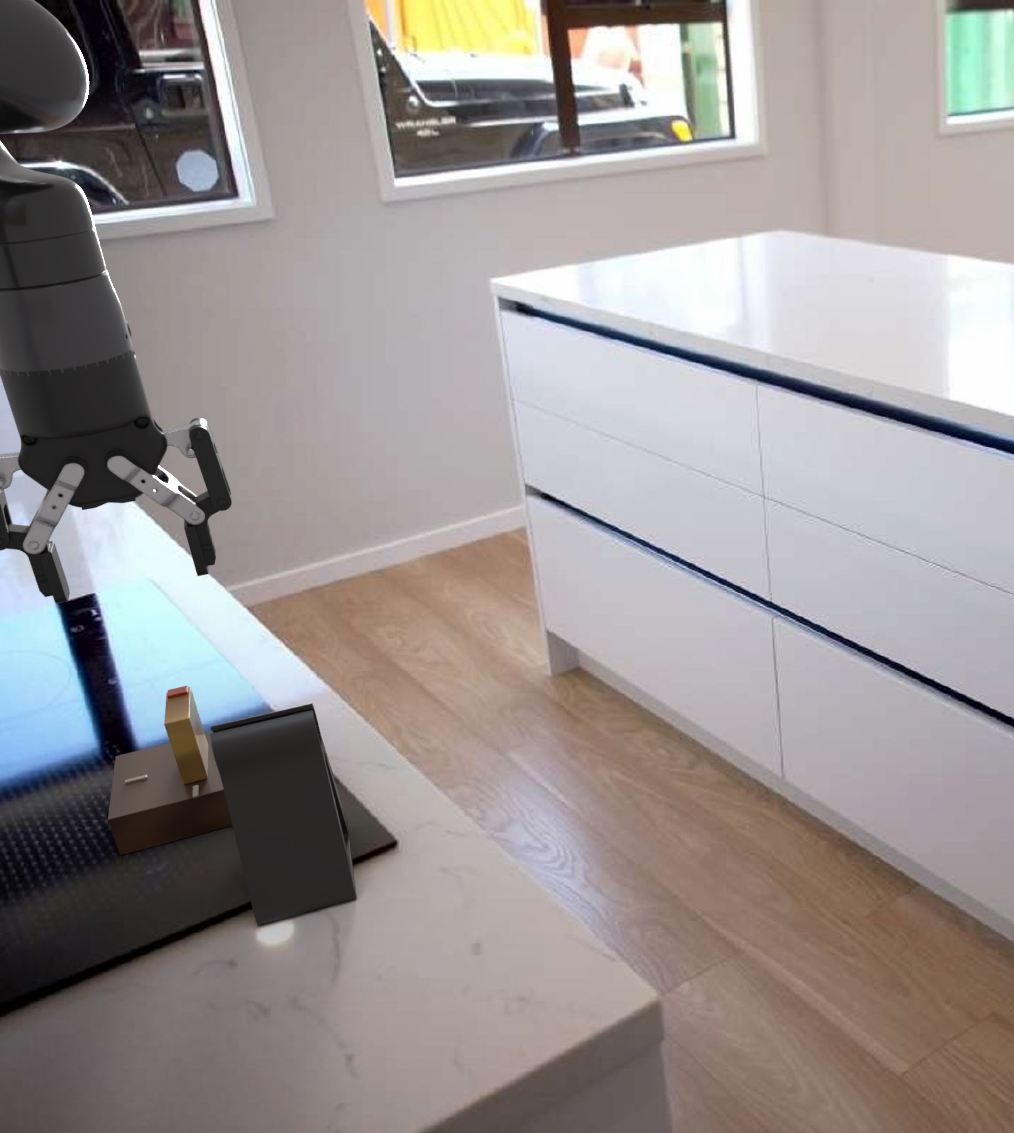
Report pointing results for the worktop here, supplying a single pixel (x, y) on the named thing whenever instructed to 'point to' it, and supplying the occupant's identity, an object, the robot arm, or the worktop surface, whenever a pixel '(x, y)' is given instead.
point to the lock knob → (186, 734)
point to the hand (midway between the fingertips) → (134, 584)
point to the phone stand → (285, 812)
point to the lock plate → (162, 800)
